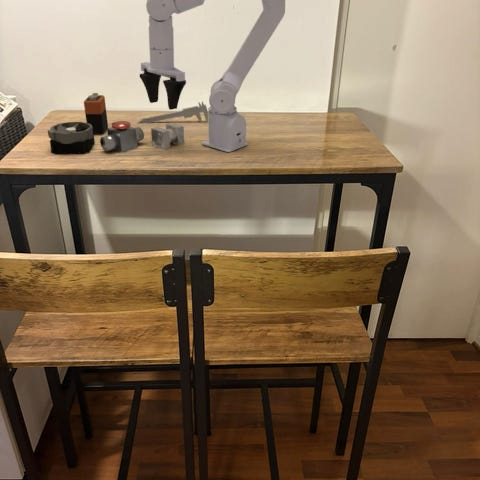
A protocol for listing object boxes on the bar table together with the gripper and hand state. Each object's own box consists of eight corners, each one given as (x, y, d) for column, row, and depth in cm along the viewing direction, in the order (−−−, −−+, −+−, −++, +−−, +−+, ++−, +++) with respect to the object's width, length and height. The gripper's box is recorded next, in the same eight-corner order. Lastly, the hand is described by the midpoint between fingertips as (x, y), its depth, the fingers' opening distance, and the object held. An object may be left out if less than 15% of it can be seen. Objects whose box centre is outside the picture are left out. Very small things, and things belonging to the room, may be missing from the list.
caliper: (207, 122, 146) (207, 100, 143) (208, 123, 145) (207, 101, 142) (137, 123, 144) (135, 101, 141) (137, 124, 143) (135, 102, 140)
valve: (112, 155, 119) (109, 130, 116) (99, 150, 122) (96, 126, 119) (146, 144, 127) (144, 121, 124) (134, 140, 129) (131, 117, 126)
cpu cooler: (95, 120, 125) (87, 132, 117) (98, 142, 128) (91, 155, 120) (54, 120, 125) (43, 133, 116) (58, 142, 128) (48, 155, 119)
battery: (87, 134, 133) (82, 97, 128) (93, 127, 139) (88, 91, 134) (103, 134, 133) (99, 97, 128) (108, 127, 139) (104, 91, 134)
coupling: (172, 139, 131) (171, 122, 129) (184, 143, 128) (183, 126, 126) (152, 145, 126) (151, 128, 124) (164, 149, 124) (163, 132, 121)
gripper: (129, 44, 117) (132, 101, 124) (168, 54, 109) (169, 114, 116) (152, 42, 122) (154, 97, 129) (191, 51, 114) (191, 109, 120)
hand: (163, 105), depth 123 cm, fingers open, 7 cm apart
